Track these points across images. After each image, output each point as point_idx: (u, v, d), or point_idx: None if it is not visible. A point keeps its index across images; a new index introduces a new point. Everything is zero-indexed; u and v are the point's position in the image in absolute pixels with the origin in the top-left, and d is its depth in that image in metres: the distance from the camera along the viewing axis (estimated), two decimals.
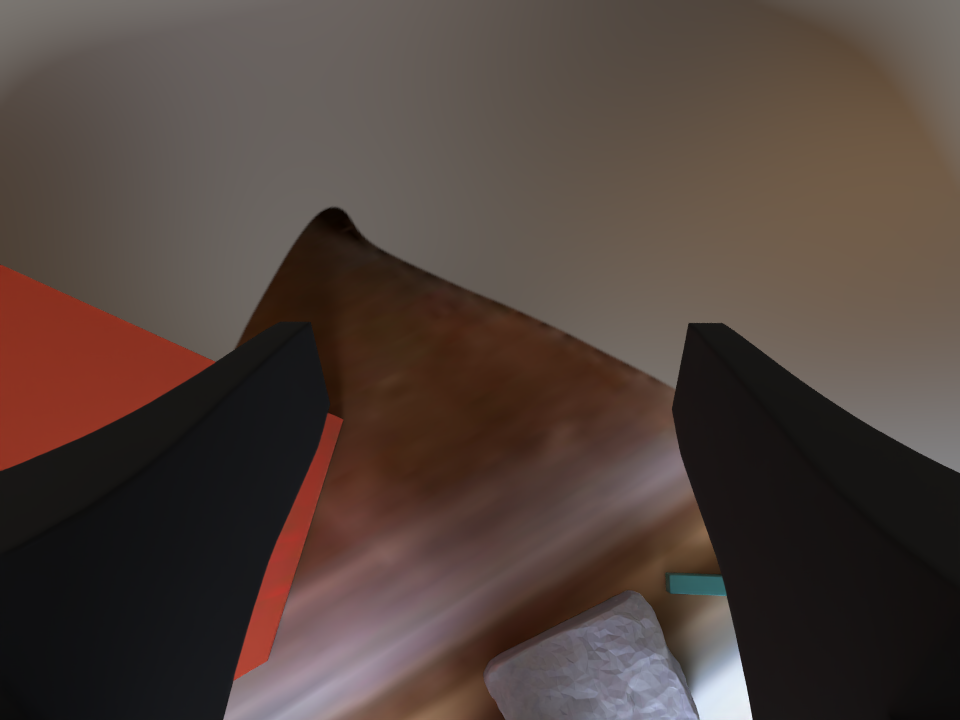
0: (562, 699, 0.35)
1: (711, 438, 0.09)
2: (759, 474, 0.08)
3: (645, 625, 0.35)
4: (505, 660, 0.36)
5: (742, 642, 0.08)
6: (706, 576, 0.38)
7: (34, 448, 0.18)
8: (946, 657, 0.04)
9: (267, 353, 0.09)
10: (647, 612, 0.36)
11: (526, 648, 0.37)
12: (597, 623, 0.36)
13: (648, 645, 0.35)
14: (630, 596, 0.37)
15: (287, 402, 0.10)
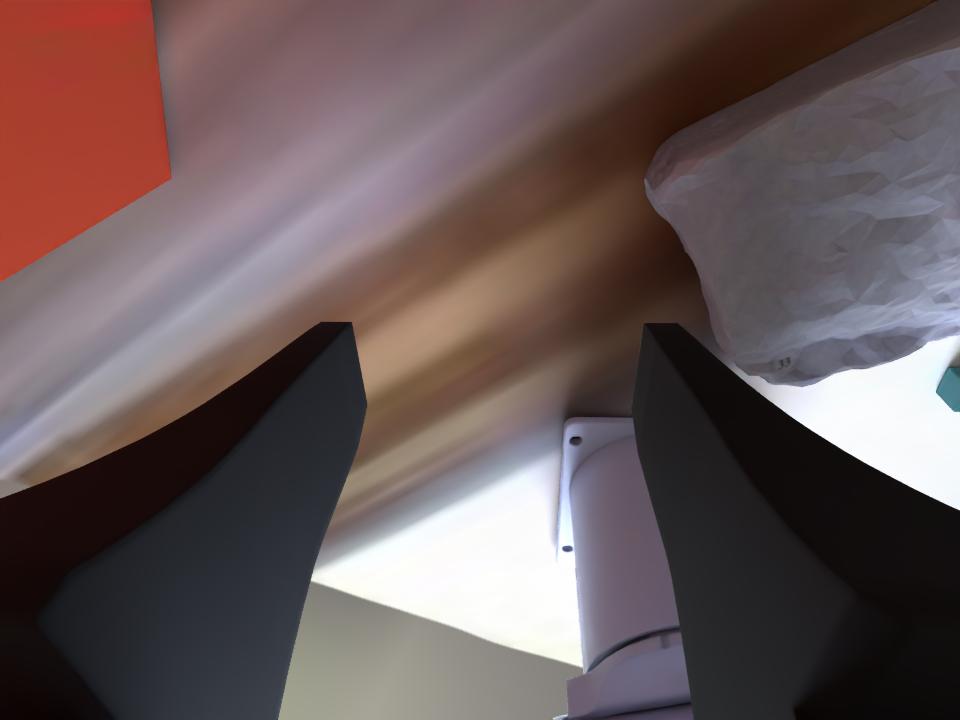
0: (846, 223, 0.15)
1: (661, 437, 0.09)
2: (698, 472, 0.08)
3: None
4: (723, 146, 0.14)
5: (685, 639, 0.08)
6: None
7: None
8: (838, 653, 0.04)
9: (315, 353, 0.09)
10: None
11: (777, 113, 0.14)
12: None
13: None
14: None
15: (332, 403, 0.10)
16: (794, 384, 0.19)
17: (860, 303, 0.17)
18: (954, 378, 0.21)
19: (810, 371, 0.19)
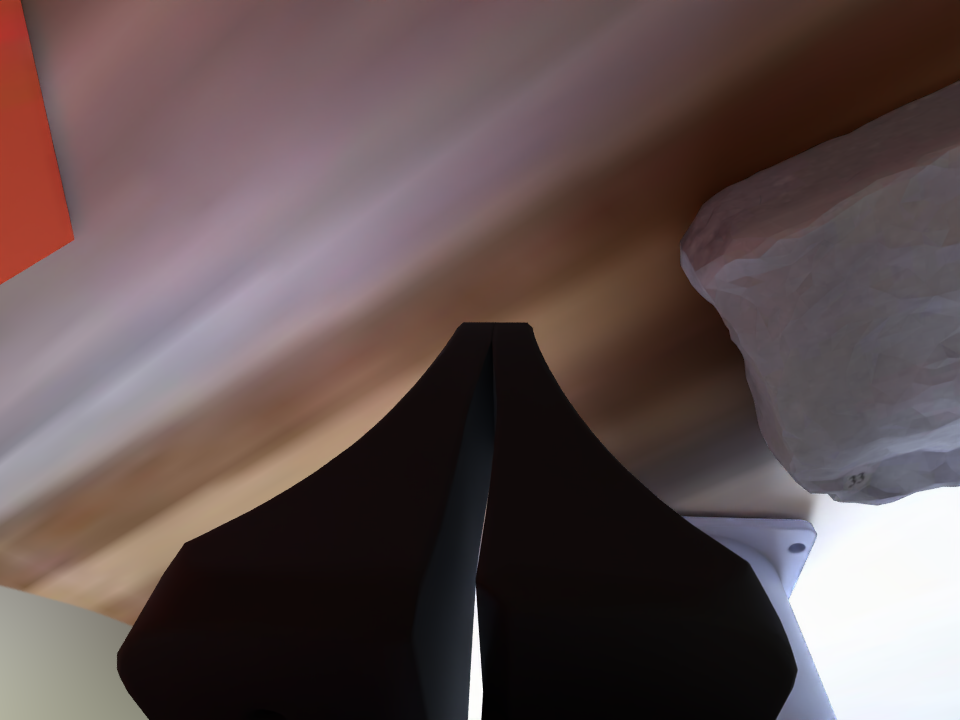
0: None
1: None
2: None
3: None
4: (800, 221, 0.10)
5: None
6: None
7: None
8: (486, 636, 0.05)
9: (481, 355, 0.09)
10: None
11: (875, 176, 0.10)
12: None
13: None
14: None
15: (488, 405, 0.10)
16: (867, 503, 0.15)
17: None
18: None
19: (889, 488, 0.15)
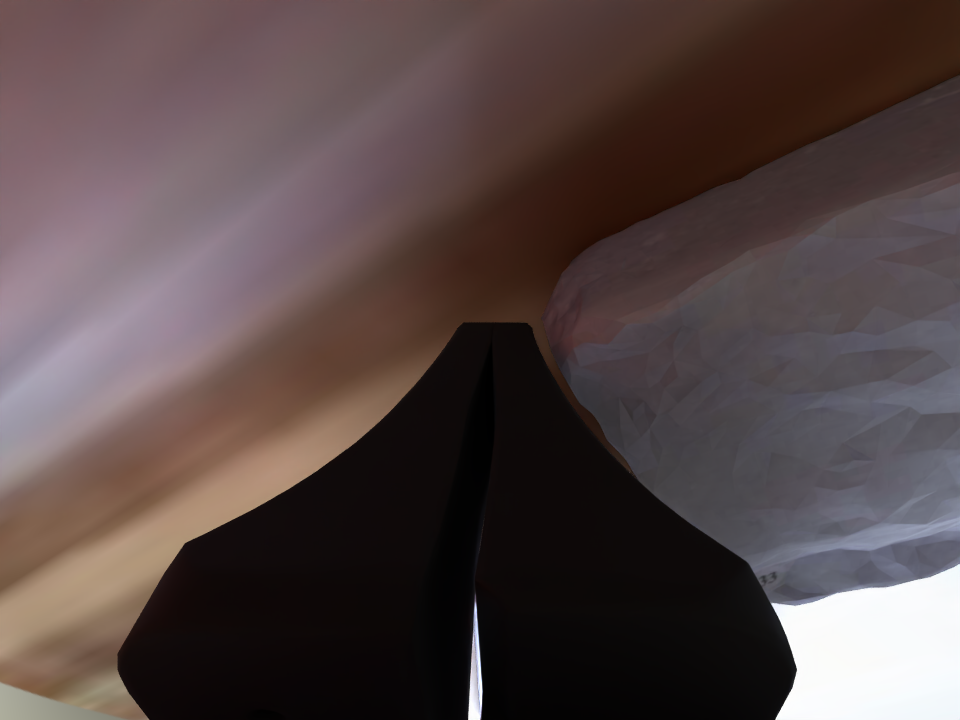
0: (869, 420, 0.09)
1: None
2: None
3: None
4: (653, 301, 0.08)
5: None
6: None
7: None
8: (484, 636, 0.05)
9: (481, 355, 0.09)
10: None
11: (749, 245, 0.08)
12: None
13: None
14: None
15: (488, 405, 0.10)
16: (783, 603, 0.13)
17: (888, 524, 0.10)
18: None
19: (807, 588, 0.12)
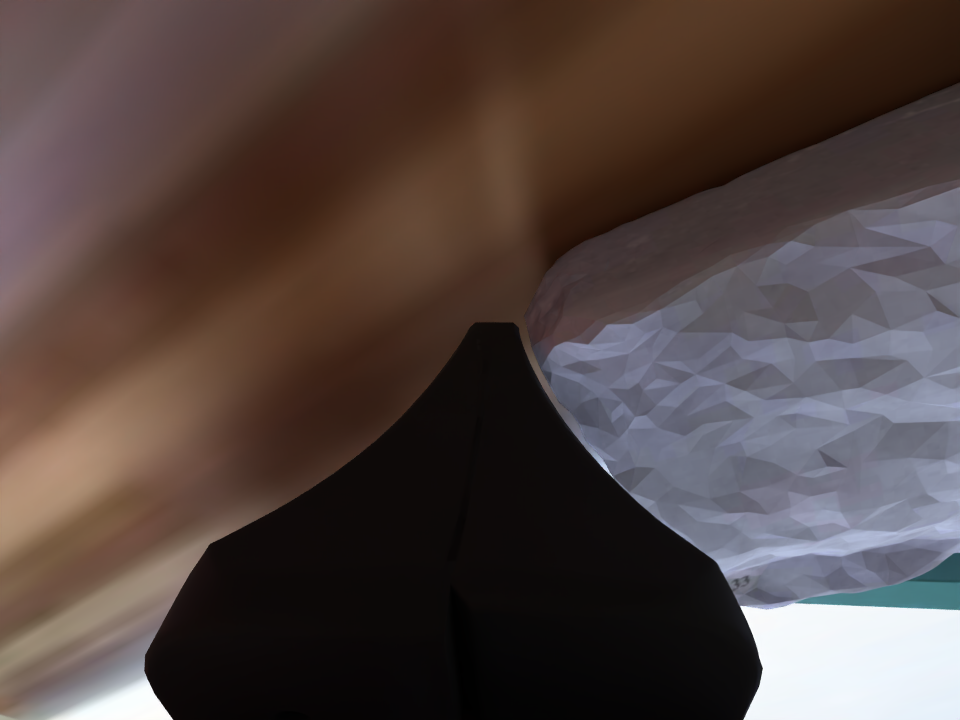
0: (842, 427, 0.09)
1: None
2: None
3: None
4: (634, 303, 0.08)
5: None
6: None
7: None
8: (452, 636, 0.05)
9: (496, 355, 0.09)
10: None
11: (730, 250, 0.08)
12: None
13: None
14: None
15: None
16: (755, 607, 0.13)
17: (858, 530, 0.10)
18: None
19: (779, 592, 0.13)
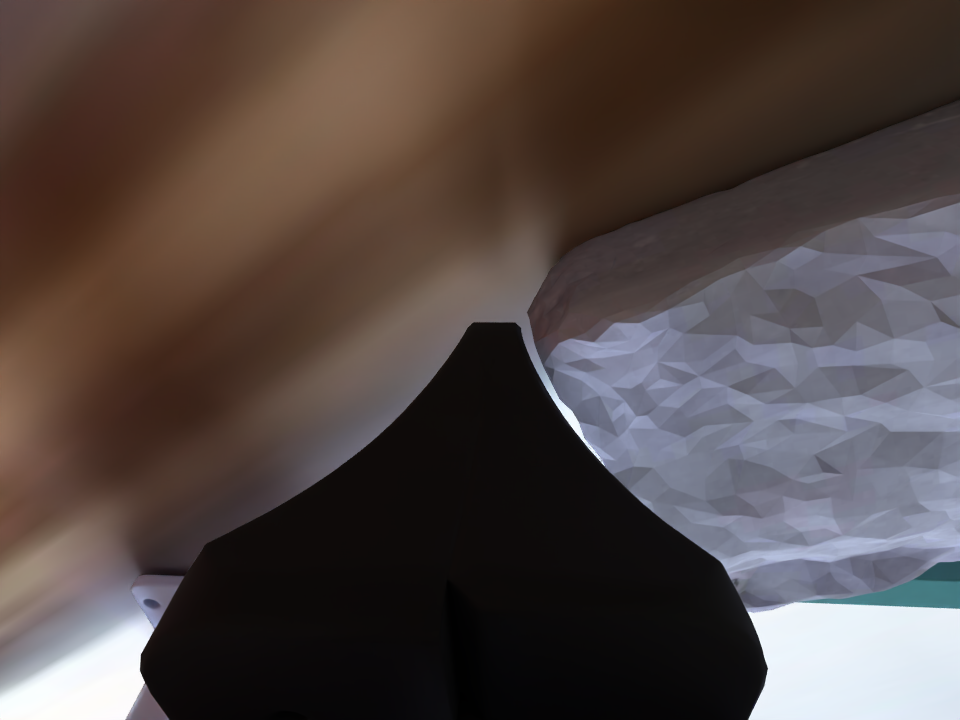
0: (840, 434, 0.09)
1: None
2: None
3: None
4: (642, 302, 0.08)
5: None
6: None
7: None
8: (458, 635, 0.05)
9: (493, 355, 0.09)
10: None
11: (739, 253, 0.08)
12: None
13: None
14: None
15: None
16: None
17: (850, 536, 0.11)
18: None
19: (766, 596, 0.13)
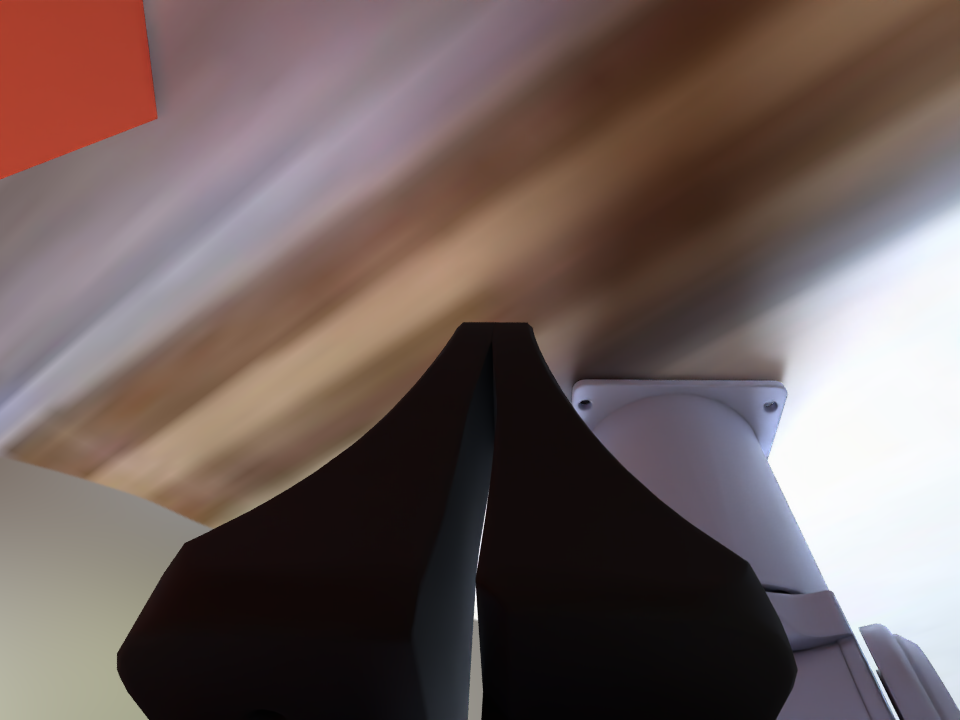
0: None
1: None
2: None
3: None
4: None
5: None
6: None
7: None
8: (484, 636, 0.05)
9: (481, 355, 0.09)
10: None
11: None
12: None
13: None
14: None
15: (488, 405, 0.10)
16: None
17: None
18: None
19: None
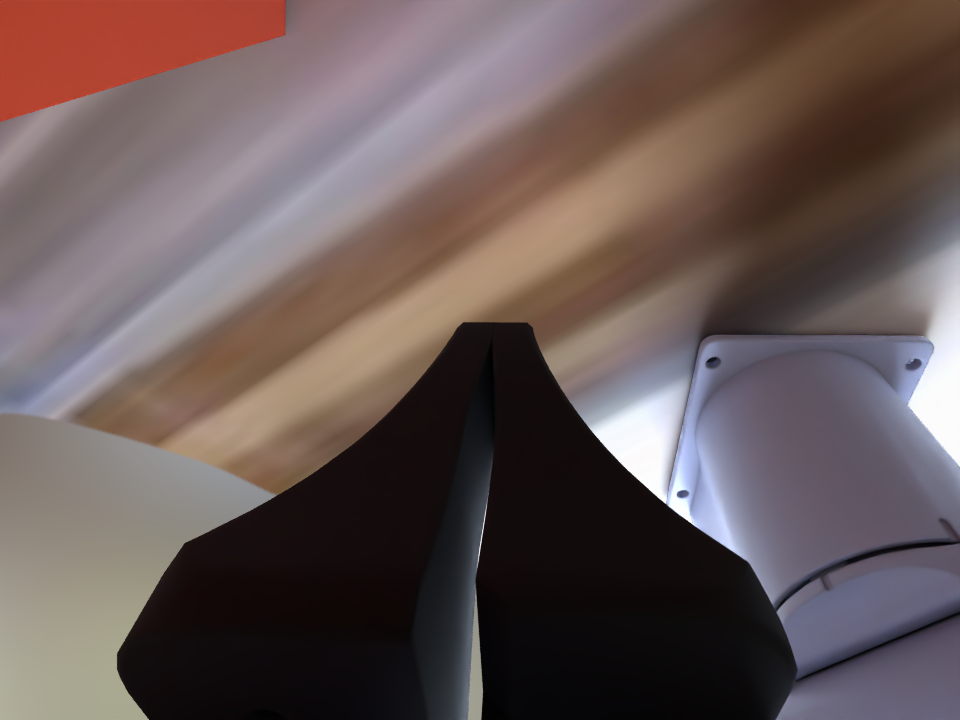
0: None
1: None
2: None
3: None
4: None
5: None
6: None
7: None
8: (484, 637, 0.05)
9: (482, 355, 0.09)
10: None
11: None
12: None
13: None
14: None
15: (488, 405, 0.10)
16: None
17: None
18: None
19: None
